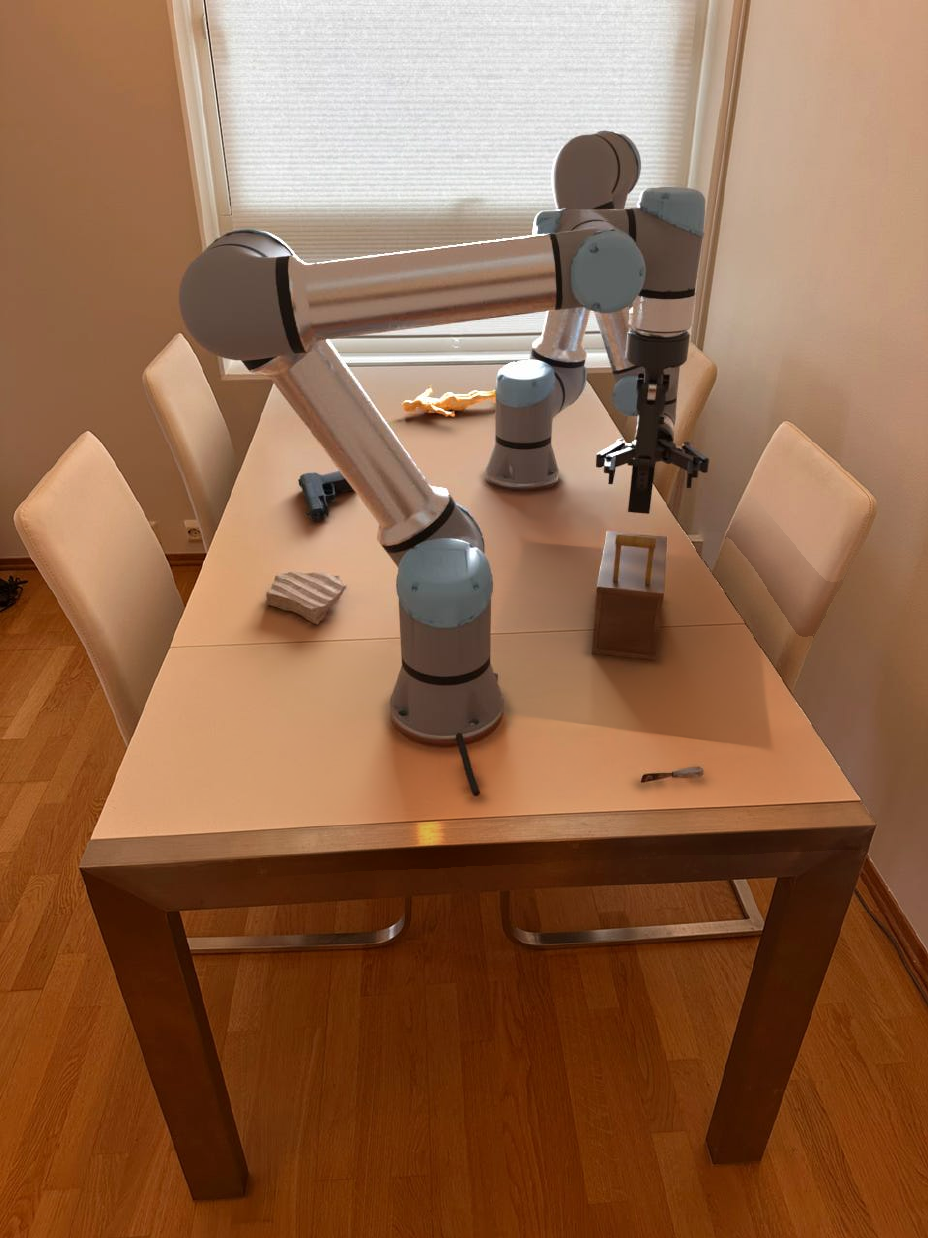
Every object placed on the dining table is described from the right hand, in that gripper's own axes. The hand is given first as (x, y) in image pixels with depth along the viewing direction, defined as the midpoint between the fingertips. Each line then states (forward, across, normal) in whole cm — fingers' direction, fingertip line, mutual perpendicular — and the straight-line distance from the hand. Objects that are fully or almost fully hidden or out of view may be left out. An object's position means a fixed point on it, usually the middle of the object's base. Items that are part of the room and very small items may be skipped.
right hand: (649, 478), depth 157 cm
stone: (+34, +53, -11) cm, 64 cm away
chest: (+30, +1, -13) cm, 32 cm away
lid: (+30, +1, -2) cm, 30 cm away
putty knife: (+64, -6, -13) cm, 66 cm away
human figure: (-64, +51, -10) cm, 83 cm away
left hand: (+37, 0, +13) cm, 39 cm away
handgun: (-5, +62, -10) cm, 63 cm away
